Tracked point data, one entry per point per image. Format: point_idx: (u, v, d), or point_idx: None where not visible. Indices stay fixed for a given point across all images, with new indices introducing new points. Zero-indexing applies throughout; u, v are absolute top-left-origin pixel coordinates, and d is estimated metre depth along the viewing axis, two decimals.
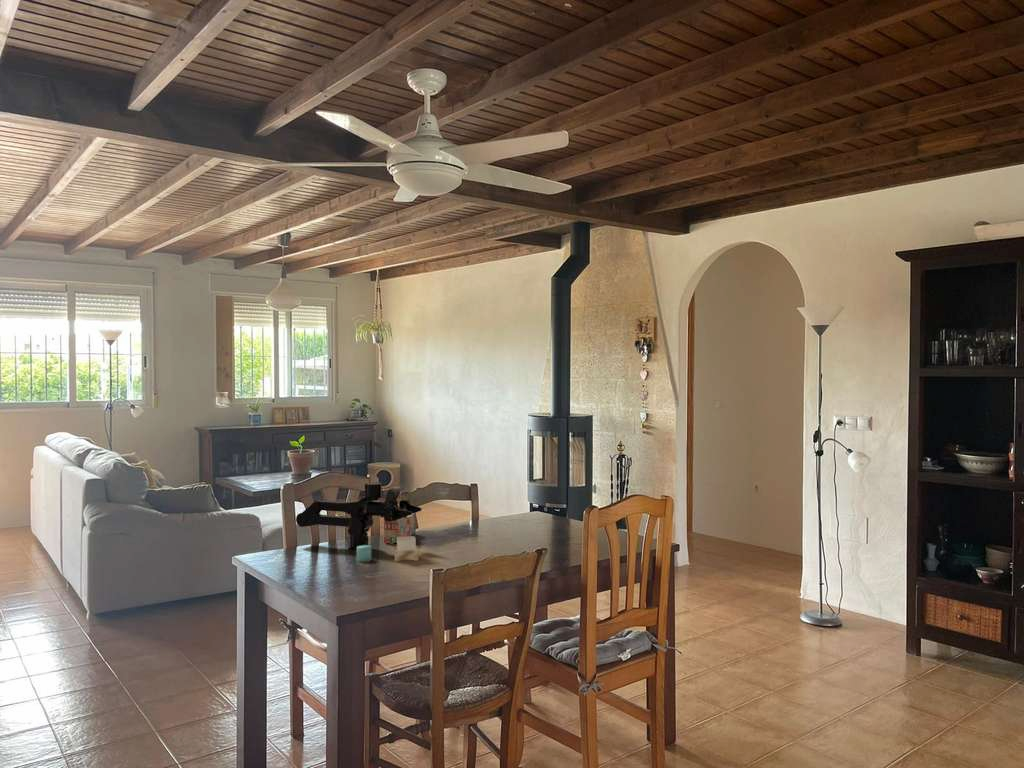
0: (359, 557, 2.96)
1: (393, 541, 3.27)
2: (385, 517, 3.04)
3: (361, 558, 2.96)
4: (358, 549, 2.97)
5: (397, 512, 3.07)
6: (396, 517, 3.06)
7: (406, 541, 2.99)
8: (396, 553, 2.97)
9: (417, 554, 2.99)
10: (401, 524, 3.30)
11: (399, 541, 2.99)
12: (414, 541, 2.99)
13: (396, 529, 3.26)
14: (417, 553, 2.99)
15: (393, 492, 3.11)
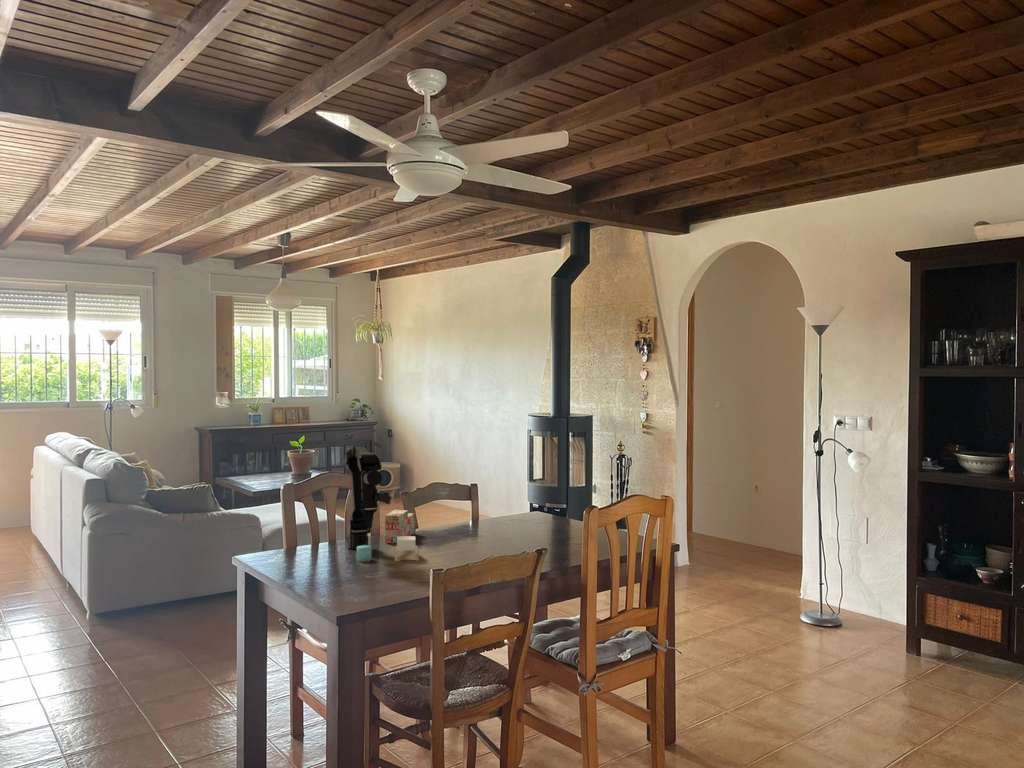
0: (359, 557, 2.96)
1: (394, 541, 3.27)
2: (365, 503, 2.91)
3: (361, 558, 2.96)
4: (358, 549, 2.97)
5: (370, 512, 2.94)
6: (364, 512, 2.93)
7: (406, 541, 2.99)
8: (396, 553, 2.97)
9: (417, 554, 2.99)
10: (402, 524, 3.30)
11: (399, 541, 2.99)
12: (414, 541, 3.00)
13: (397, 529, 3.26)
14: (417, 553, 2.99)
15: (388, 502, 2.99)
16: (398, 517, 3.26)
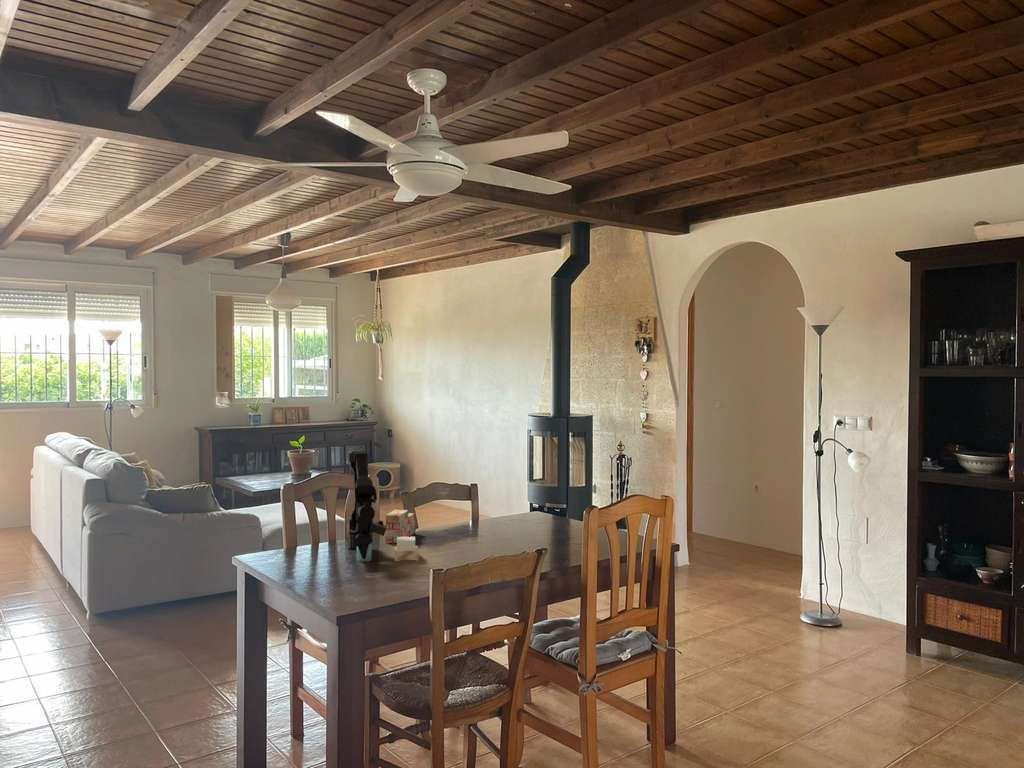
0: (359, 557, 2.96)
1: (395, 541, 3.27)
2: (360, 538, 2.89)
3: (361, 558, 2.96)
4: (358, 549, 2.97)
5: (364, 544, 2.95)
6: (359, 544, 2.94)
7: (406, 541, 2.99)
8: (396, 553, 2.97)
9: (417, 554, 2.99)
10: (402, 524, 3.31)
11: (399, 541, 2.98)
12: (414, 541, 2.99)
13: (398, 529, 3.27)
14: (417, 553, 2.99)
15: (383, 533, 2.98)
16: (399, 517, 3.27)
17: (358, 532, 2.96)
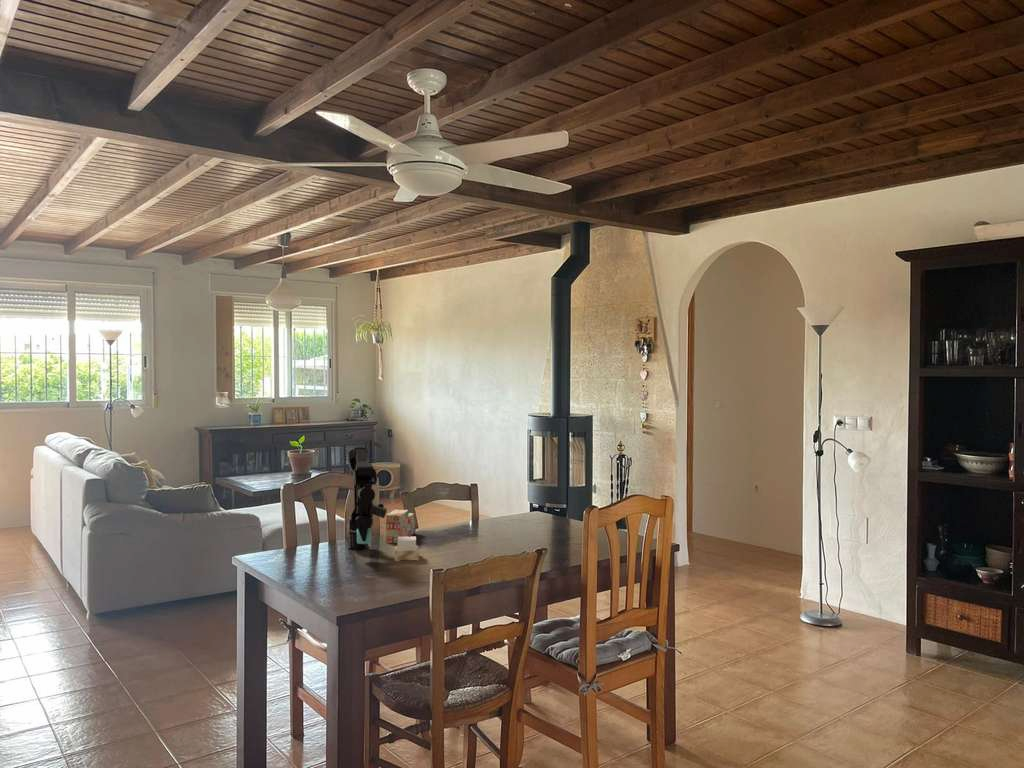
0: (359, 539, 2.96)
1: (395, 541, 3.27)
2: (360, 520, 2.89)
3: (361, 541, 2.96)
4: (358, 531, 2.96)
5: (364, 526, 2.94)
6: (359, 526, 2.93)
7: (406, 541, 2.99)
8: (396, 553, 2.97)
9: (417, 554, 2.99)
10: (403, 524, 3.31)
11: (399, 541, 2.98)
12: (414, 541, 2.99)
13: (398, 529, 3.27)
14: (417, 553, 2.99)
15: (383, 516, 2.98)
16: (399, 517, 3.27)
17: (358, 514, 2.96)
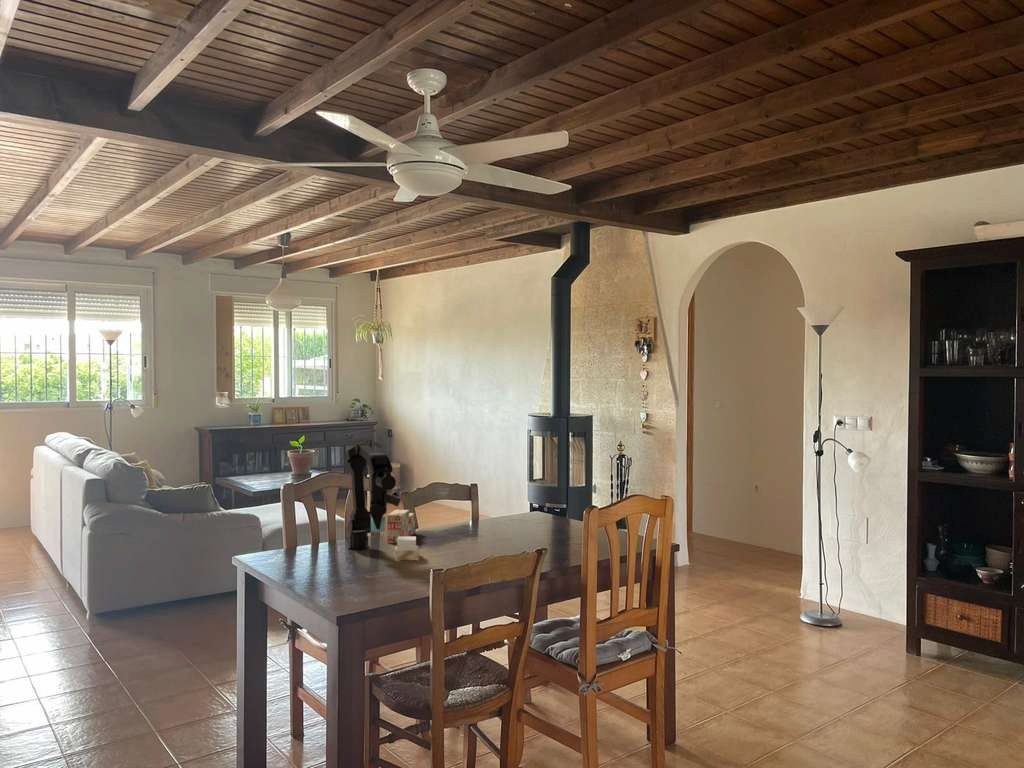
0: (373, 527, 2.97)
1: (396, 541, 3.28)
2: (374, 508, 2.90)
3: (375, 529, 2.97)
4: (372, 519, 2.98)
5: (378, 514, 2.96)
6: (373, 514, 2.95)
7: (406, 541, 2.99)
8: (396, 553, 2.97)
9: (417, 554, 2.99)
10: (404, 524, 3.31)
11: (399, 541, 2.99)
12: (414, 541, 2.99)
13: (400, 529, 3.27)
14: (417, 553, 2.99)
15: (397, 504, 2.99)
16: (400, 517, 3.27)
17: (372, 502, 2.97)
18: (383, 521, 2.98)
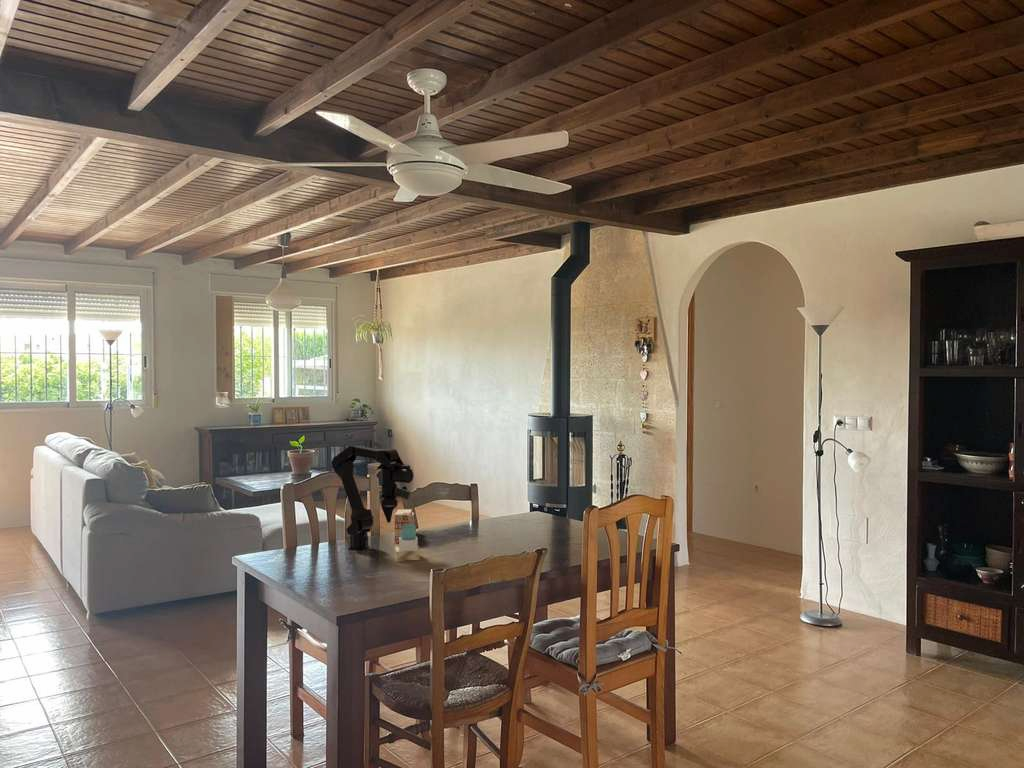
0: (404, 535, 2.99)
1: None
2: (385, 501, 3.00)
3: (406, 537, 2.99)
4: (403, 527, 3.00)
5: (389, 508, 3.04)
6: (384, 508, 3.03)
7: (408, 541, 2.98)
8: (397, 553, 2.97)
9: (418, 554, 2.98)
10: (410, 523, 3.33)
11: (401, 541, 2.98)
12: (416, 541, 2.99)
13: None
14: (418, 553, 2.98)
15: (407, 497, 3.09)
16: (408, 516, 3.28)
17: (383, 496, 3.07)
18: (414, 529, 3.00)
